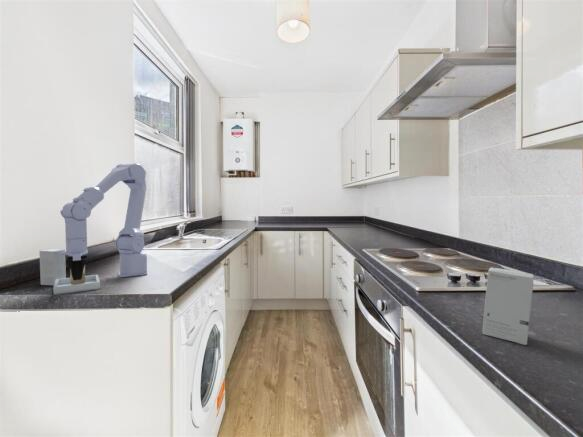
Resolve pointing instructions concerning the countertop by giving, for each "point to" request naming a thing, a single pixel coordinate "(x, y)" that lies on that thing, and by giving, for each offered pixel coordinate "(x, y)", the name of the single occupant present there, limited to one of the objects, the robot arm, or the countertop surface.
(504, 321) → the skincare box
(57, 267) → the skincare box
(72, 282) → the birch cylinder
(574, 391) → the countertop surface
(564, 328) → the countertop surface
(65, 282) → the tray
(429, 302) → the countertop surface
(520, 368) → the countertop surface
